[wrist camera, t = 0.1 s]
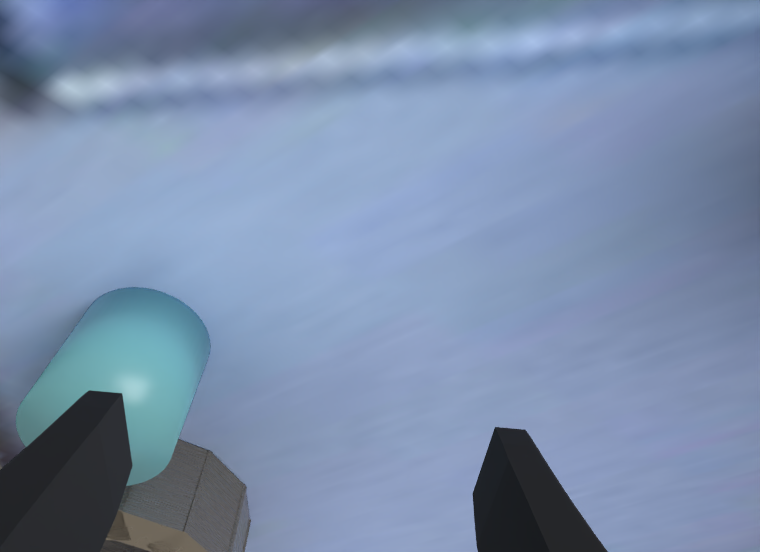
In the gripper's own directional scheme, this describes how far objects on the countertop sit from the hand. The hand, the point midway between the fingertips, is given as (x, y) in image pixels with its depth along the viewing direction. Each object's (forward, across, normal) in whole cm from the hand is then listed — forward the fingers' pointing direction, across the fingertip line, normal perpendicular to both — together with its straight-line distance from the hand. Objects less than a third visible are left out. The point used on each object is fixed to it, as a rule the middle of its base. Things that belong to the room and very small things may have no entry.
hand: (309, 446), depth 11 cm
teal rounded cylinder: (+10, +7, +6) cm, 14 cm away
